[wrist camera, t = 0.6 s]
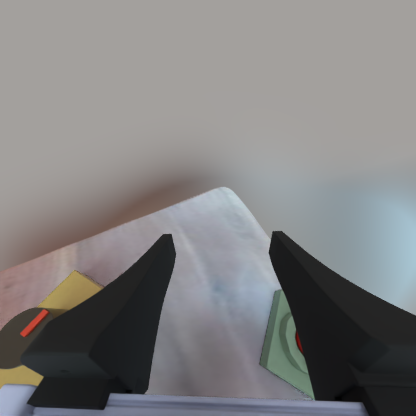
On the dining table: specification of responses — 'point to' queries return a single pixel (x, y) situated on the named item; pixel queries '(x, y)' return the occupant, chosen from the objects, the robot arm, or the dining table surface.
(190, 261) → the dining table surface
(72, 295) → the plate
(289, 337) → the green stepped block
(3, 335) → the dark brown rotary knob
